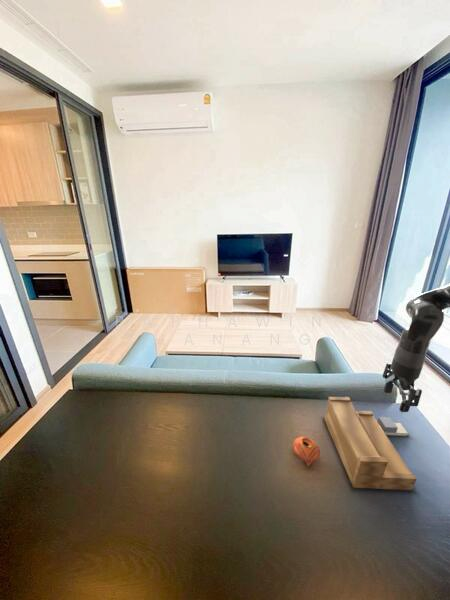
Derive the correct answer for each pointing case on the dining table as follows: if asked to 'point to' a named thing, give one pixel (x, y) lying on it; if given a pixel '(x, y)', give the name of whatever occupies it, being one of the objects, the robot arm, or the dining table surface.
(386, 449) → the stepped wooden ledge
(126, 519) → the dining table surface
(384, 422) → the block chair shape
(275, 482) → the dining table surface
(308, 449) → the pot
